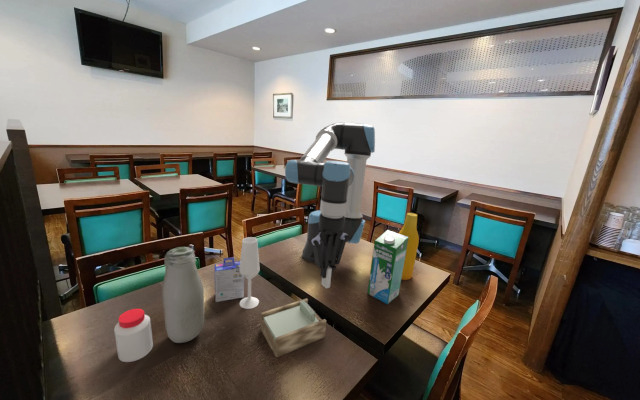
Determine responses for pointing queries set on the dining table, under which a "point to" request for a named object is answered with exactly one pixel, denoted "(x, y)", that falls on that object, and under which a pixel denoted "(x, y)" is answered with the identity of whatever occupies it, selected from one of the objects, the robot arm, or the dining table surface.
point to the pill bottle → (133, 335)
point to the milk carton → (387, 266)
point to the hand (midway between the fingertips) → (325, 285)
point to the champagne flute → (249, 268)
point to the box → (293, 338)
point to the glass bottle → (182, 295)
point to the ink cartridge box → (228, 281)
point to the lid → (290, 319)
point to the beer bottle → (410, 244)
